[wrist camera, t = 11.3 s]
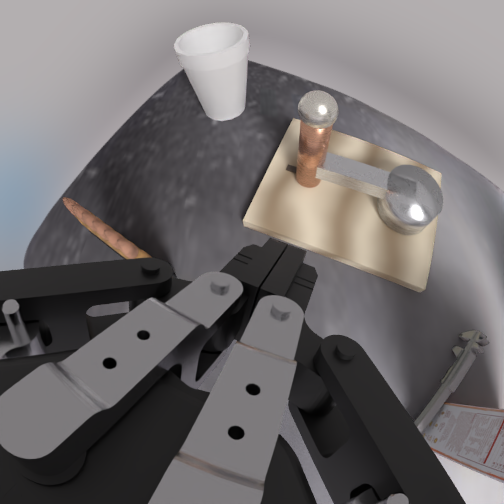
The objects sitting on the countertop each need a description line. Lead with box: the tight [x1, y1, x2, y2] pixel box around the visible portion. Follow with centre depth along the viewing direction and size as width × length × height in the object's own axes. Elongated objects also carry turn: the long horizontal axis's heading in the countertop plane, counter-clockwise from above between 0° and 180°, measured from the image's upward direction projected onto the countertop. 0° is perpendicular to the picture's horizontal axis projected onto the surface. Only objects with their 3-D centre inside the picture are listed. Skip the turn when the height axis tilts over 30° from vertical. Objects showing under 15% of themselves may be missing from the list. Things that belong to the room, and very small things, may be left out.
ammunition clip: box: [63, 197, 177, 278], centre depth 29 cm, size 11×2×12 cm, turn 58°
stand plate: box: [243, 118, 442, 293], centre depth 34 cm, size 22×17×2 cm
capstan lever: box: [296, 90, 443, 235], centre depth 27 cm, size 17×7×13 cm, turn 70°
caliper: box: [414, 330, 490, 433], centre depth 23 cm, size 20×1×6 cm, turn 142°
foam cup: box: [174, 23, 250, 121], centre depth 36 cm, size 10×9×13 cm
